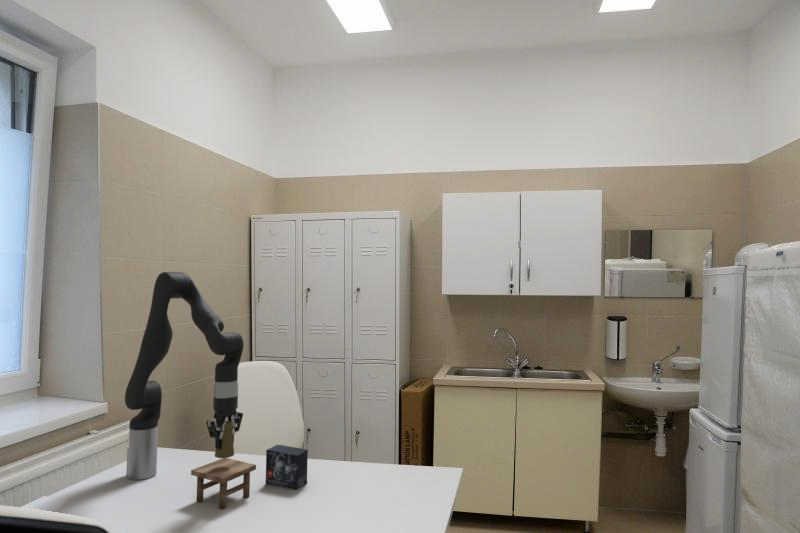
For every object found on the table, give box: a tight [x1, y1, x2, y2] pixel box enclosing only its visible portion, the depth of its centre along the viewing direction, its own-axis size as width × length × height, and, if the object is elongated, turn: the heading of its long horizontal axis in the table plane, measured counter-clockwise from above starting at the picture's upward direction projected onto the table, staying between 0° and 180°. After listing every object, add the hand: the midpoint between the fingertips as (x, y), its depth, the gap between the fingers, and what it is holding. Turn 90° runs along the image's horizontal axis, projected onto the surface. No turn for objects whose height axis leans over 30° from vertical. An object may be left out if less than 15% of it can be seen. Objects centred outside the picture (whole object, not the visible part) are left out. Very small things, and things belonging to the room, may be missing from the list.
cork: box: [214, 421, 235, 459], centre depth 170 cm, size 6×6×11 cm
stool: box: [190, 457, 257, 510], centre depth 170 cm, size 14×14×10 cm
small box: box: [265, 444, 309, 491], centre depth 183 cm, size 13×7×12 cm, turn 68°
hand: (224, 447), depth 170 cm, fingers closed on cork, 4 cm apart
